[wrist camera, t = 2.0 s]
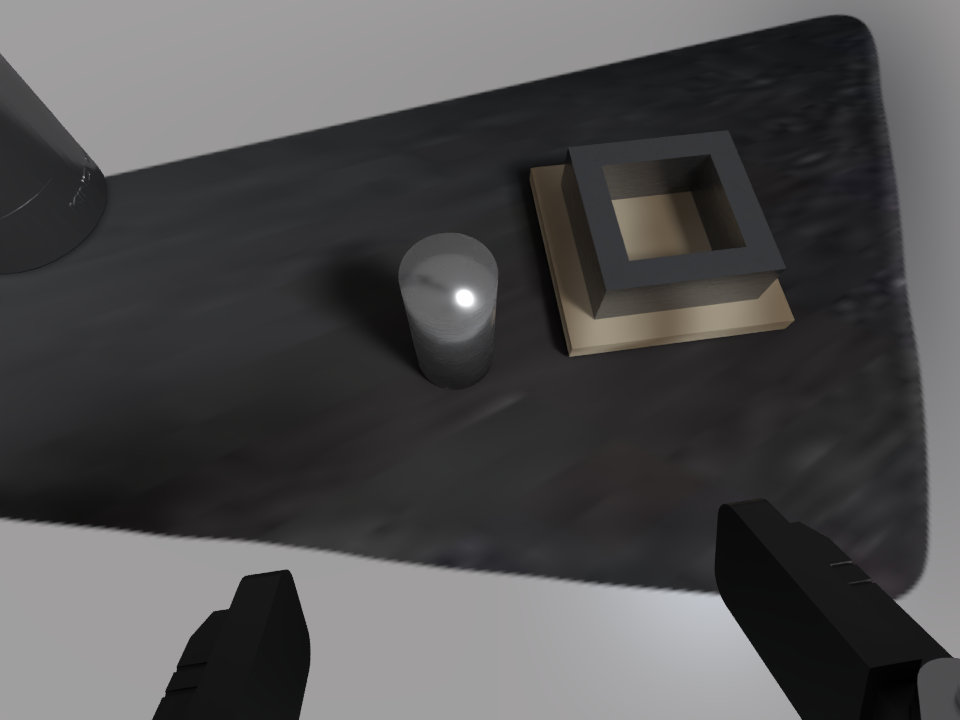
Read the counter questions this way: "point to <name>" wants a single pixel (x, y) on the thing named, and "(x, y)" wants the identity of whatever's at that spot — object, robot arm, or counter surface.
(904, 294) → the counter surface
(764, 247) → the sleeve
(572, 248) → the board
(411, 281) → the cylinder
